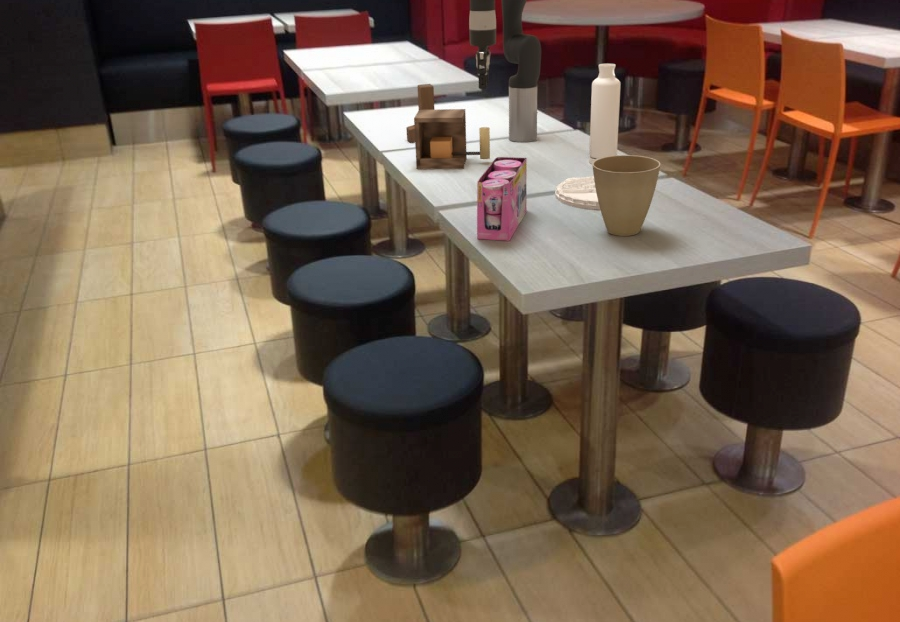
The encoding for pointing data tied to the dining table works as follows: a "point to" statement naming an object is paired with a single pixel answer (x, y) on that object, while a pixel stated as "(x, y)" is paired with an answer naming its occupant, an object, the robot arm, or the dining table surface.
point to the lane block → (443, 149)
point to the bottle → (604, 114)
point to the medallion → (578, 193)
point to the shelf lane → (440, 126)
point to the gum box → (501, 198)
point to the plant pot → (625, 191)
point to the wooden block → (422, 106)
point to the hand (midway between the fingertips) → (483, 86)
